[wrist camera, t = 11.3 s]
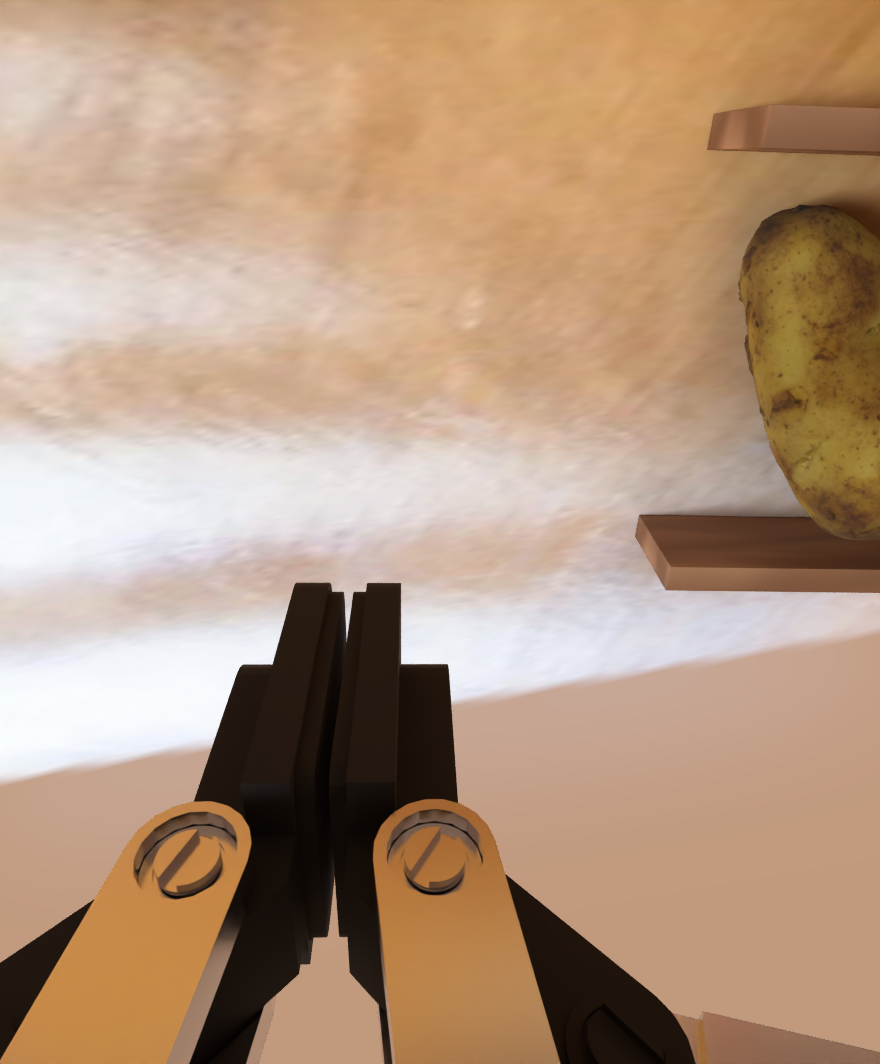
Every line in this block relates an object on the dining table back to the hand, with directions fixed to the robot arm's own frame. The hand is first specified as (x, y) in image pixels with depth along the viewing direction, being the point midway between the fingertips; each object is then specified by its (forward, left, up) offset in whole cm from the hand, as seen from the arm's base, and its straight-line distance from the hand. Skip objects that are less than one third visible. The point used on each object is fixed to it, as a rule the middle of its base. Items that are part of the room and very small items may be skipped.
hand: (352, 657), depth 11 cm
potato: (0, +18, -22) cm, 28 cm away
